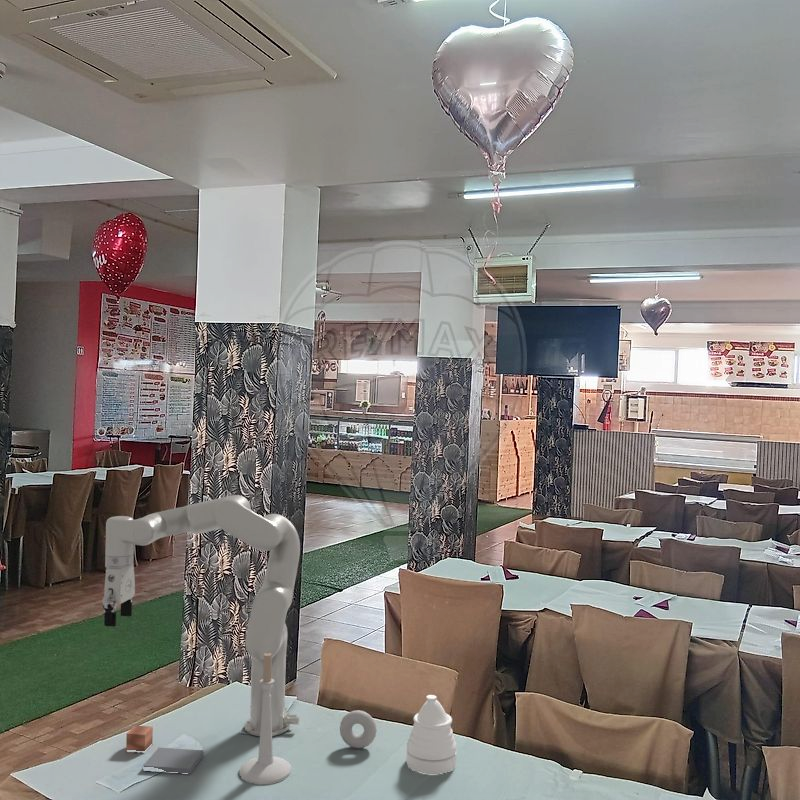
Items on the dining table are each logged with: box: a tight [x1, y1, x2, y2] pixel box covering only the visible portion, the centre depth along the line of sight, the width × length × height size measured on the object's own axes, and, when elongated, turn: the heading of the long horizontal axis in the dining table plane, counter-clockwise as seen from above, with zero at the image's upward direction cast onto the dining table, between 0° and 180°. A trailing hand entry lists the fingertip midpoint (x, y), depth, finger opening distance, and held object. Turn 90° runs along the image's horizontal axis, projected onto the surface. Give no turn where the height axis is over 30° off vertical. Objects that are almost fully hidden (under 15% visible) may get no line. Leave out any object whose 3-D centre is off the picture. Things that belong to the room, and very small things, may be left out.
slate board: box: [142, 747, 204, 775], centre depth 201 cm, size 12×10×2 cm
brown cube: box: [125, 725, 154, 751], centre depth 209 cm, size 5×5×5 cm
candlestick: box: [238, 652, 292, 786], centre depth 198 cm, size 13×13×30 cm
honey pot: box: [405, 694, 457, 774], centre depth 204 cm, size 13×13×18 cm
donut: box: [339, 709, 377, 749], centre depth 212 cm, size 10×4×10 cm, turn 82°
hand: (118, 620), depth 224 cm, fingers open, 9 cm apart
